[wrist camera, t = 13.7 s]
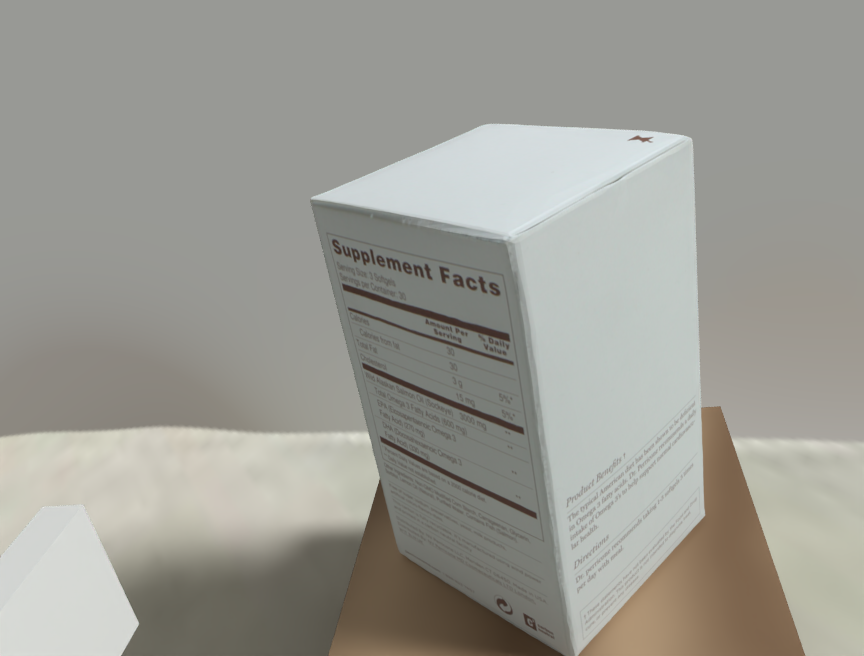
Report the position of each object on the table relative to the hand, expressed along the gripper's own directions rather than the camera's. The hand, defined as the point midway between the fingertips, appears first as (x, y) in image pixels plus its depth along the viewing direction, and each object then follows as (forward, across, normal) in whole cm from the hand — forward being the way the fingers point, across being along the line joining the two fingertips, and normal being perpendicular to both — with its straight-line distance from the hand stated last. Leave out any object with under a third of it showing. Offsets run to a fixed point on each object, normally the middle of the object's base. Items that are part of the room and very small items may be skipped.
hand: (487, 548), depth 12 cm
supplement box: (+11, 0, -10) cm, 15 cm away
